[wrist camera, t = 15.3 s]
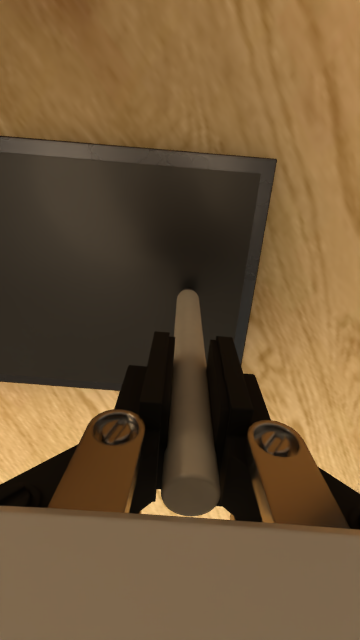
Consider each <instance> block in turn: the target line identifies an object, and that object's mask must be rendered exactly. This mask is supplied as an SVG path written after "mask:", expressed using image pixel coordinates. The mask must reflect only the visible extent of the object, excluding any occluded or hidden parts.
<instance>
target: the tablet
mask: <svg viewBox="0 0 360 640" xmlns="http://www.w3.org/2000/svg"><path fill="white" fill-rule="evenodd" d="M276 163H277V159H270V158H259V157H247V156H235V155H223V154H211V153H199V152H187V151H175V150H164V149H152V148H140V147H128V146H116V145H104V144H92V143H80V142H68V141H57V140H45V139H33V138H21V137H9V136H0V382H13V383H26V384H39V385H51V386H64V387H77V388H90V389H103V390H115V391H120V390H121V387H122V384H123V380H124V377H125V374H126V371H127V368H128V365H136V366H147V364H148V359H149V355H150V350H151V345H152V341H153V336H154V332H155V331H159V332H170V336H171V337H174V328H175V316H176V304H177V296H178V295H179V293H180V292H181V291H182V290H183V289H185V288H191V289H193V290H194V292H196V293H197V295H198V297H199V305H200V314H201V323H202V331H203V340H204V349H205V358H206V367H207V360H208V352H209V344H210V340H216V336H224V337H232V338H233V341H234V344H235V348H236V351H237V355H238V358H239V361H240V365H241V363H242V358H243V352H244V346H245V340H246V335H247V329H248V323H249V317H250V312H251V306H252V300H253V295H254V289H255V283H256V277H257V272H258V266H259V260H260V255H261V249H262V243H263V237H264V232H265V226H266V220H267V214H268V209H269V203H270V197H271V192H272V186H273V180H274V174H275V169H276Z"/></svg>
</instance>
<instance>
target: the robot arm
mask: <svg viewBox="0 0 360 640" xmlns="http://www.w3.org/2000/svg"><path fill="white" fill-rule="evenodd" d="M174 349H175V337H171V336H170V332H159V331H155V332H154V336H153V341H152V345H151V350H150V355H149V359H148V364H147V366H136V365H128V368H127V371H126V374H125V377H124V380H123V384H122V387H121V390H120V393H119V396H118V399H117V403H116V406H115V409H113V410H108V411H105V412H103V413H100V414H98V415H97V416H95V417H94V418H93V419H92V420H91V421H90V423H89V424H88V426H87V428H86V430H85V432H84V434H83V436H82V438H81V440H80V442H79V444H78V445H76V446H74V447H72V448H70V449H68V450H66V451H64V452H62V453H60V454H58V455H57V456H55V457H53V458H51V459H49V460H47V461H45V462H43V463H41V464H39V465H37V466H35V467H33V468H31V469H30V470H28V471H26V472H24V473H22V474H20V475H18V476H16V477H14V478H12V479H10V480H8V481H6V482H5V483H3V484H1V485H0V640H360V494H359V493H357V492H356V491H354V490H353V489H351V488H350V487H348V486H347V485H345V484H344V483H342V482H340V481H339V480H337V479H336V478H334V477H333V476H331V475H330V474H328V473H327V472H325V471H324V470H322V469H320V468H319V467H318V466H317V465H316V463H315V461H314V459H313V457H312V455H311V453H310V451H309V449H308V448H307V446H306V444H305V442H304V440H303V439H302V437H301V436H300V435H299V434H298V433H297V432H296V431H295V430H294V429H293V428H291V427H289V426H287V425H285V424H283V423H280V422H277V421H271V419H270V416H269V413H268V411H267V408H266V405H265V402H264V399H263V397H262V394H261V391H260V388H259V385H258V382H257V380H256V377H255V375H253V374H243V372H242V368H241V365H240V361H239V358H238V355H237V351H236V348H235V344H234V341H233V338H232V337H224V336H216V340H210V344H209V352H208V360H207V367H206V372H207V381H208V390H209V400H210V409H211V418H212V428H213V437H214V446H215V452H216V457H217V466H218V475H219V484H220V499H219V501H218V503H217V505H216V506H223V507H224V508H225V509H226V510H227V511H229V512H230V513H231V514H230V520H222V519H207V518H193V517H178V516H163V515H149V514H141V510H142V509H143V508H145V507H146V506H147V505H149V504H150V503H151V502H155V499H156V489H161V487H162V475H163V462H164V453H165V450H166V448H167V443H168V431H169V418H170V406H171V392H172V378H173V364H174Z"/></svg>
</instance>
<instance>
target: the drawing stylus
mask: <svg viewBox="0 0 360 640" xmlns="http://www.w3.org/2000/svg"><path fill="white" fill-rule="evenodd" d="M174 337H175V349H174V364H173V378H172V392H171V406H170V418H169V431H168V443H167V448H166V450H165V453H164V462H163V475H162V487H161V497H162V500H163V502H164V504H165V505H166V507H167V508H168V509H170V510H171V511H173V512H175V513H177V514H180V515H184V516H198V515H202V514H205V513H207V512H209V511H211V510H212V509H213V508H214V507H215V506H216V505H217V503H218V501H219V499H220V484H219V475H218V466H217V457H216V452H215V446H214V437H213V428H212V418H211V409H210V400H209V390H208V381H207V372H206V358H205V349H204V340H203V331H202V323H201V314H200V305H199V297H198V295H197V293H196V292H194V290H193V289H191V288H185V289H183V290H182V291H181V292H180V293H179V295H178V296H177V304H176V316H175V328H174Z"/></svg>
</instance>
